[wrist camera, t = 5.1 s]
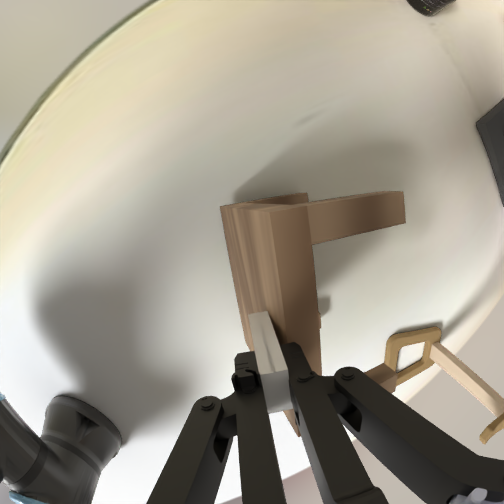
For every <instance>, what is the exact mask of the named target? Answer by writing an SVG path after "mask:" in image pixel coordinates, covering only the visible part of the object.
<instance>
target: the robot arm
mask: <svg viewBox="0 0 504 504" xmlns="http://www.w3.org/2000/svg"><path fill="white" fill-rule="evenodd" d="M248 317H249V323H250V328H251V333H252V339H253V344H254V350H255V351H250V352H244V353H238V354H237V356H236V357H235V359H234V361H235V373H234V374H233V375H232V378H231V379H232V383H233V387H234V390H235V391H234V393H233V394H231V395H230V396H228V397H226V398H224V399H221V400H220V399H219V398H217V397H214V396H206V397H203V398H200V399H199V400H197V401H196V402H195V404H194V405H193V408H192V410H191V412H190V414H189V416H188V418H187V420H186V422H185V424H184V427H183V429H182V431H181V433H180V435H179V437H178V439H177V441H176V443H175V445H174V448H173V450H172V452H171V454H170V456H169V458H168V460H167V462H166V464H165V466H164V468H163V470H162V472H161V474H160V477H159V479H158V481H157V483H156V485H155V487H154V489H153V491H152V493H151V495H150V497H149V499H148V501H147V503H146V504H214V502H215V499H216V496H217V492H218V489H219V486H220V483H221V479H222V476H223V473H224V469H225V466H226V462H227V459H228V455H229V452H230V449H231V445H232V442H233V436H236V435H237V436H238V450H239V464H240V477H241V490H242V502H243V504H287V503H286V499H285V494H284V489H283V484H282V479H281V474H280V469H279V464H278V460H277V455H276V450H275V445H274V440H273V435H272V430H271V424H270V420H269V415H268V414H270V413H275V412H280V411H285V410H290V409H293V408H294V415H295V423H296V425H298V428H299V431H300V434H301V437H302V440H303V443H304V446H305V449H306V452H307V455H308V458H309V461H310V464H311V467H312V470H313V473H314V476H315V479H316V482H317V485H318V488H319V491H320V494H321V497H322V500H323V503H324V504H389V503H388V501H387V499H386V498H385V495H384V494H383V492H382V490H381V489H380V488H378V487H375V486H374V485H373V484H372V482H371V480H370V478H369V476H368V474H367V472H366V470H365V468H364V466H363V464H362V462H361V460H360V458H359V456H358V454H357V452H356V450H355V448H354V446H353V444H352V442H351V440H350V438H349V436H348V434H347V432H346V430H345V428H344V426H345V427H346V428H347V429H348V430H349V431H350V432H351V433H352V434H353V435H354V436H355V437H356V438H357V439H358V440H359V441H360V442H361V443H362V444H363V445H364V446H365V447H366V448H367V449H368V450H369V451H370V452H371V453H372V454H373V455H374V456H375V457H376V458H377V459H378V460H379V461H380V462H382V464H383V465H384V466H386V467H387V468H388V469H389V470H390V471H391V472H392V473H393V474H394V475H395V476H396V477H397V478H398V479H399V480H400V481H402V482H403V483H404V484H405V485H406V486H407V487H408V488H409V489H410V490H411V491H413V492H414V493H415V494H416V495H417V496H418V497H419V498H420V499H422V500H423V501H424V502H425V503H427V504H504V460H498V459H493V458H488V457H483V456H479V455H477V454H475V453H474V452H472V451H471V450H469V449H468V448H467V447H465V446H463V445H462V444H461V443H459V442H458V441H456V440H455V439H453V438H452V437H451V436H449V435H448V434H446V433H445V432H443V431H442V430H440V429H439V428H438V427H436V426H435V425H434V424H432V423H431V422H429V421H428V420H426V419H425V418H424V417H422V416H421V415H420V414H418V413H417V412H416V411H414V410H412V409H411V408H410V407H409V406H407V405H406V404H405V403H403V402H402V401H401V400H399V399H398V398H396V397H395V396H394V395H392V394H391V393H390V392H388V391H387V390H386V389H384V388H383V387H382V386H380V385H379V384H378V383H376V382H375V381H374V380H372V379H371V378H370V377H368V376H367V375H366V374H364V373H363V372H362V371H360V370H359V369H357V368H355V367H344V368H341V369H339V370H338V371H336V373H335V374H334V376H320V375H317V373H316V372H315V371H312V369H311V367H310V365H309V363H308V361H307V359H306V357H305V355H304V353H303V350H302V348H301V346H300V345H299V344H297V343H296V342H292V343H287V344H282V345H279V343H278V340H277V337H276V334H275V331H274V328H273V325H272V323H271V320H270V317H269V314H268V311H264V312H259V313H253V314H248ZM5 398H6V397H5V396H4V395H2V394H1V392H0V483H1V482H3V483H4V484H5V485H6V486H7V487H8V488H10V490H11V491H9V497H10V499H11V500H12V501H14V502H15V503H16V504H91V503H92V500H93V496H94V493H95V490H96V487H97V483H98V480H99V477H100V474H101V471H102V470H103V469H104V468H105V466H106V465H107V464H108V463H109V461H110V460H111V459H112V458H114V457H115V456H116V455H117V454H118V452H119V449H120V446H121V442H122V440H121V436H120V433H119V432H118V430H117V428H116V427H115V426H114V425H113V424H112V422H111V421H110V420H109V419H108V418H106V417H105V416H104V415H103V414H102V413H100V412H99V411H98V410H96V409H95V408H93V407H91V406H90V405H88V404H86V403H84V402H82V401H80V400H77V399H74V398H71V397H66V396H58V397H55V398H53V399H52V401H51V402H50V403H49V405H48V406H47V409H46V413H45V421H44V426H43V432H42V435H41V437H40V438H39V437H38V436H37V435H36V433H35V432H34V431H33V430H32V429H31V428H30V427H29V426H28V425H27V424H26V423H25V422H24V420H23V419H22V418H21V417H20V416H19V415H18V414H17V412H16V411H15V410H14V409H13V408H12V406H11V405H10V404H9V403H8V401H7V400H6V399H5ZM343 425H344V426H343Z"/></svg>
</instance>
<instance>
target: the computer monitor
mask: <svg viewBox="0 0 504 504" xmlns="http://www.w3.org/2000/svg"><path fill="white" fill-rule="evenodd" d="M476 126H477V128H478V130H479V133H480V135H481V138H482V140H483V143H484V145H485V148H486V151H487V153H488V156H489V159H490V162H491V165H492V168H493V171H494V174H495V178H496V181H497V184H498V188H499V192H500V195H501V199H502V203H503V207H504V99H503V100H502V101H501V102H500V103H499V104H498V105H497V106H495V107H494V108H493V109H492V110H491V111H490V112H489V113H487V114H486V115H485V116H484V117H483V118H481V119H480V120H479V121H478V122H477V123H476Z"/></svg>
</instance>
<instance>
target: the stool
mask: <svg viewBox="0 0 504 504" xmlns="http://www.w3.org/2000/svg"><path fill="white" fill-rule="evenodd" d="M220 210H221V216H222V221H223V227H224V233H225V238H226V244H227V249H228V254H229V260H230V265H231V270H232V276H233V281H234V286H235V291H236V296H237V301H238V307H239V312H240V317H241V322H242V326H243V331H244V336H245V341H246V344H247V346H248V347H249V349H250V351H255V350H254V344H253V339H252V333H251V328H250V323H249V317H248V314H253V313H259V312H264V311H268V314H269V317H270V320H271V323H272V325H273V328H274V331H275V334H276V337H277V340H278V343H279V345H282V344H287V343H292V342H296V343H297V344H299V345H300V346H301V348H302V350H303V353H304V355H305V357H306V359H307V361H308V363H309V365H310V367H311V369H312V371H315V372H316V373H317V375H320V376H322V367H321V347H320V330H319V329H320V328H321V317H320V313H319V312H318V303H317V291H316V280H315V270H314V260H313V251H312V245H313V244H317V243H322V242H326V241H330V240H335V239H339V238H344V237H348V236H352V235H356V234H361V233H365V232H369V231H374V230H378V229H382V228H387V227H391V226H395V225H399V224H404V223H406V220H405V206H404V195H403V192H400V191H382V192H374V193H367V194H359V195H352V196H345V197H339V198H332V199H325V200H319V201H313V202H308V195H307V193H296V194H290V195H283V196H277V197H271V198H264V199H258V200H253V201H247V202H241V203H236V204H230V205H225V206H220ZM364 374H366V375H367V376H368V377H370V378H371V379H372V380H374V381H375V382H376V383H378V384H379V385H380V386H382V387H383V388H384V389H386V390H387V391H388V392H390V393H393V392H394V391H395V388H396V383H397V377H398V374H397V373H396V372H395V371H394V370H392V369H391V368H390V367H388V366H387V365H386V364H385V363H382V364H381V365H379V366H377V367H375V368H373V369H371V370H369V371H367V372H364ZM283 412H284V413H285V415H286V417H287V419H288V420H289V422H290V424H291V426H292V427H293V429H294V431H295V432H296V434H297V436H298V437H300V436H301V434H300V431H299V428H298V425H296V423H295V415H294V408H293V409H290V410H285V411H283Z"/></svg>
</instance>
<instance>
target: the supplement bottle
mask: <svg viewBox="0 0 504 504" xmlns="http://www.w3.org/2000/svg"><path fill="white" fill-rule="evenodd" d="M455 1H456V0H407V2H408V3H409V4H410V5H411V6H412V7H413V8H414V9H415V10H417V11H418V12H419V13H421V14H423V15H426V16H433V15H434V14H436V13H437V12H439V11H440V10H442V9H444V8H445V7H447V6H448V5H450V4H451V3H453V2H455Z"/></svg>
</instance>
